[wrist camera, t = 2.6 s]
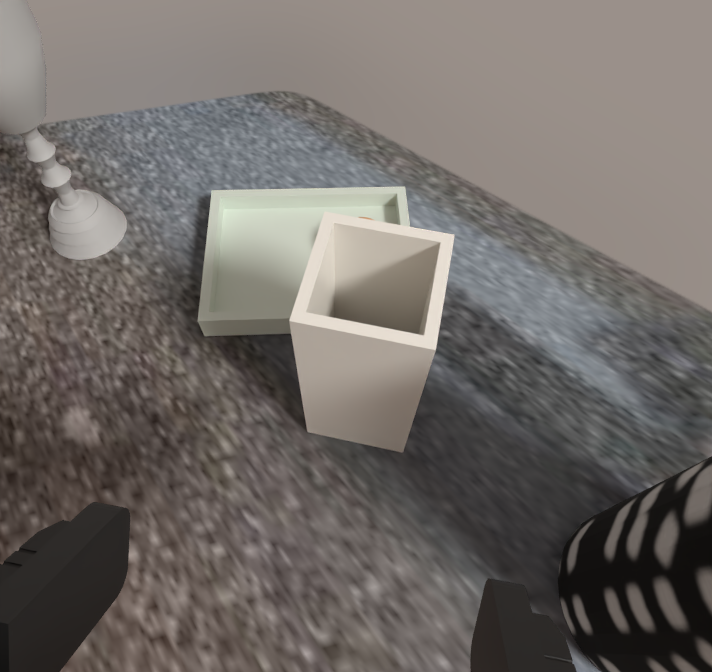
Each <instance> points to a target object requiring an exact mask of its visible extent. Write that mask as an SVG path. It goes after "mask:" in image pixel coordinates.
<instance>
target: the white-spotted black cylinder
mask: <svg viewBox="0 0 712 672" xmlns="http://www.w3.org/2000/svg"><path fill="white" fill-rule="evenodd" d="M558 585H559V597H560V602H561V605H562V609H563V613H564V617H565V619H566V621H567V624H568V626H569V628H570V630H571V633H572V635H573V637H574V638H575V640H576V641H577V643H578V644H579V646H580V648H581V649H582V651H583V652H584V653H585V655H586V656H587V657H588V658H589V659H590V660H591V661H592V662H593V664H594V665H595V666H596V667H597V668H598V669H599V670H600V671H601V672H712V457H710V458H708V459H706V460H704V461H702V462H700V463H698V464H696V465H694V466H692V467H690V468H688V469H686V470H684V471H682V472H680V473H678V474H676V475H674V476H672V477H670V478H668V479H666V480H664V481H662V482H660V483H658V484H656V485H655V486H653V487H651V488H649V489H647V490H645V491H643V492H641V493H639V494H637V495H635V496H633V497H631V498H629V499H627V500H625V501H623V502H621V503H619V504H617V505H615V506H613V507H611V508H609V509H607V510H605V511H603V512H601V513H599V514H597V515H595V516H594V517H592V518H590V519H589V520H587V521H586V522H584V523H582V524H581V526H580V527H579V528H578V529H577V530H576V531H575V532H574V533H573V534H572V535H571V537H570V539H569V541H568V542H567V544H566V546H565V548H564V551H563V554H562V557H561V560H560V566H559V575H558Z"/></svg>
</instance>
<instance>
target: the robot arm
mask: <svg viewBox="0 0 712 672" xmlns="http://www.w3.org/2000/svg"><path fill="white" fill-rule="evenodd" d="M129 531H130V513H129V510H128V509H127V508H123V507H118V506H113V505H108V504H103V503H97V502H93V503H91V504H89V505H88V506H87V507H86V508H85V509H84V510H83V511H82V512H80V513H79V514H78V515H77V516H76V517H75V518H74V519H73V520H72V521H71V522H69V521H64V520H62V521H60V522H58V523H56V524H54V525H52V526H50V527H47V528H45V529H43V530H41V531H39V532H37V533H36V534H35V535H34V536H33V537H32V538H30V539H29V540H28V541H27V542H26V543H25V544H23V545H22V546H21V547H20V548H19V551H15V552H14V553H13V554H12V555H11V556H9V557H8V558H7V559H6V560H5V561H4V563H3V565H1V564H0V672H60V670H61V669H62V668H63V667H64V665H65V664H66V663H67V661H68V660H69V659H70V658H71V656H72V655H73V654H74V652H75V651H76V650H77V648H78V647H79V646H80V645H81V643H82V642H83V641H84V639H85V638H86V637H87V635H88V634H89V633H90V632H91V630H92V629H93V628H94V626H95V625H96V624H97V623H98V621H99V620H100V619H101V617H102V616H103V615H104V613H105V612H106V611H107V610H108V608H109V607H110V606H111V604H112V603H113V602H114V600H115V599H116V598H117V596H118V595H119V593H120V591H121V589H122V587H123V584H124V581H125V578H126V575H127V570H128V553H129ZM471 672H576V669H575V666H574V664H572V657H571V654H570V651H569V648H568V645H567V642H566V639H565V637H564V636H563V634H562V633H561V632H560V631H559V629H558V628H557V627H556V626H555V624H554V623H553V622H552V620H551V619H550V618H549V617H548V616H545V615H540V614H535V613H532V609H531V606H530V602H529V599H528V595H527V591H526V588H525V587H524V585H520V584H515V583H510V582H505V581H500V580H495V579H488V580H487V581H486V584H485V588H484V592H483V596H482V600H481V604H480V609H479V613H478V617H477V621H476V626H475V630H474V634H473V639H472V646H471Z"/></svg>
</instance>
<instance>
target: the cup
mask: <svg viewBox="0 0 712 672" xmlns="http://www.w3.org/2000/svg"><path fill="white" fill-rule="evenodd" d="M453 242H454V235H452V234H447V233H441V232H436V231H430V230H424V229H419V228H413V227H408V226H402V225H397V224H391V223H386V222H380V221H375V220H369V219H364V218H358V217H353V216H347V215H342V214H336V213H330V212H324V215H323V218H322V221H321V224H320V227H319V230H318V233H317V236H316V240H315V243H314V246H313V249H312V252H311V255H310V258H309V261H308V264H307V267H306V270H305V274H304V277H303V280H302V283H301V286H300V289H299V292H298V295H297V298H296V301H295V304H294V307H293V311H292V314H291V317H290V320H289V323H290V329H291V335H292V341H293V348H294V354H295V360H296V366H297V372H298V378H299V384H300V390H301V396H302V403H303V409H304V415H305V421H306V427H307V432H309V433H314V434H319V435H323V436H328V437H332V438H337V439H342V440H346V441H351V442H356V443H360V444H365V445H369V446H374V447H379V448H383V449H388V450H392V451H397V452H402V453H403V451H404V448H405V445H406V442H407V439H408V435H409V432H410V429H411V426H412V423H413V420H414V417H415V414H416V410H417V407H418V404H419V401H420V398H421V395H422V392H423V389H424V385H425V382H426V379H427V376H428V373H429V370H430V367H431V363H432V360H433V357H434V354H435V351H436V346H437V340H438V333H439V327H440V321H441V315H442V309H443V303H444V297H445V291H446V284H447V278H448V272H449V266H450V260H451V254H452V248H453Z"/></svg>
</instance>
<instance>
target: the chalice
mask: <svg viewBox="0 0 712 672" xmlns="http://www.w3.org/2000/svg"><path fill="white" fill-rule="evenodd" d="M45 115H46V65H45V58H44V51H43V44H42V38H41V31H40V29H39V27H38V23H37V21H36V19H35V17H34V15H33V13H32V11H31V9H30V7H29V5H28V2H27V1H26V0H0V132H1V133H3V134H9V135H15V134H20V135H21V136H22V137H23V138H24V141H25V144H26V147H27V154H26V155H27V158H28V159H29V160H31V161H33V162H36V163H37V164H38V165H39V166H40V167H42V171H43V174H42V176H41V182H42V184H43V185H45V186H47V187H52V188H53V189H54V190H55V191H56V192H57V193H58V195H59V197H58V198H57V199H56V200H55V201H54V202H53V203H52V205H51V207H50V210H49V214H48V220H49V230H50V242H51V244H52V247H53V249H54V250H55V251H56V252H57V253H58V254H60V255H62V256H64V257H67V258H69V259H77V260H84V259H91V258H95V257H98V256H100V255H103V254H106V253H107V252H108V251H110V250H111V249H113V248H114V247H116V246H117V244H118V243H119V242H120V241H121V240H122V239H123V237H124V234H125V232H126V229H127V220H126V218H125V215H124V213H123V212H122V211H121V210H120V209H119V208H118V207H117V206H114V205H112V204H111V203H110V202H109V201H108V200H106V199H104V198H103V197H102V196H101V195H99V194H97V193H95V192H92V191H87V190H74V189H73V188H72V187H71V185H70V182H69V179H70V177H71V171H70V169H69V168H68V167H66V166H62V165H60V164H58V163H57V162H56V160H55V155H54V154H55V149H56V148H55V146H54V145H53V144H52V143H50V142H48V141H46V140H45V139H44V137H43V136H42V135H41V134H40V133H39V132H38V129H37V126H38V125H39V124H40V123H41V122H42V121H43V119H44V117H45Z"/></svg>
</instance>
